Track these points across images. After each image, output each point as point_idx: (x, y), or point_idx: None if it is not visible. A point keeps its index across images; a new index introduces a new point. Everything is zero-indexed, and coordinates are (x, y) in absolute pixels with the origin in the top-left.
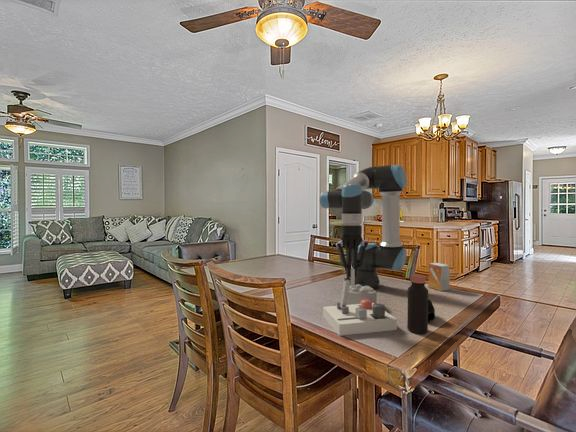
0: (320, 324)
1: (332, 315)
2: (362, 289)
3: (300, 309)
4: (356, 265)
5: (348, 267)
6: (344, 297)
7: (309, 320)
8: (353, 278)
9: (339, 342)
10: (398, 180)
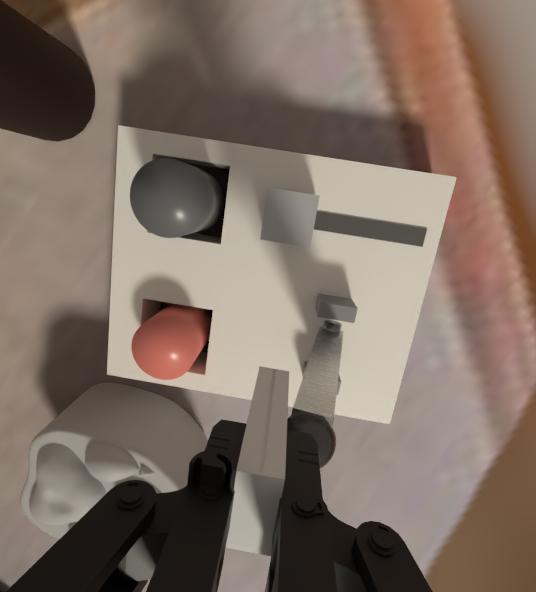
0: (439, 324)
1: (414, 301)
2: (108, 472)
3: (428, 504)
4: (191, 511)
5: (326, 513)
6: (334, 351)
7: (461, 382)
8: (264, 402)
9: (475, 116)
10: None
